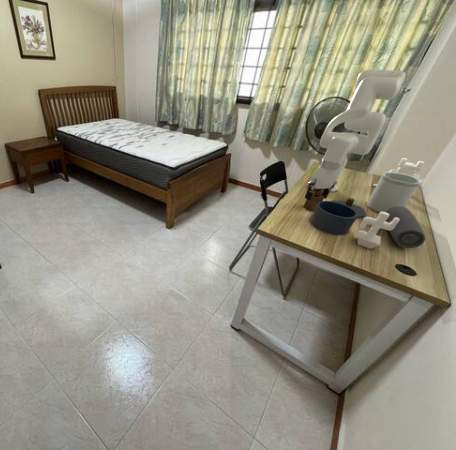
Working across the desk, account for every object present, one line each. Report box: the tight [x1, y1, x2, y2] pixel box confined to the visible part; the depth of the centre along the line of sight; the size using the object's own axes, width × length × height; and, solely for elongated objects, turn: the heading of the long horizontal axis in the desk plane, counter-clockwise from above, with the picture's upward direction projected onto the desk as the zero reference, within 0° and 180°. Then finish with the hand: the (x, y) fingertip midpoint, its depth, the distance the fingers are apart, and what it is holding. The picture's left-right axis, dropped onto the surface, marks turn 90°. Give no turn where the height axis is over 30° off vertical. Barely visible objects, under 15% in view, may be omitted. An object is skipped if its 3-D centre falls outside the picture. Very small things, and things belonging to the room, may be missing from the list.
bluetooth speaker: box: [385, 206, 426, 249], centre depth 102 cm, size 23×9×10 cm, turn 150°
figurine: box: [357, 212, 400, 250], centre depth 95 cm, size 7×9×15 cm
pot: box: [309, 200, 358, 236], centre depth 108 cm, size 15×15×8 cm
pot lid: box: [332, 197, 367, 218], centre depth 121 cm, size 16×16×6 cm
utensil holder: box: [366, 171, 423, 213], centre depth 120 cm, size 15×15×18 cm
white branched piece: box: [372, 157, 425, 187], centre depth 138 cm, size 19×14×20 cm
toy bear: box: [303, 189, 325, 212], centre depth 120 cm, size 5×5×12 cm
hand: (315, 198), depth 119 cm, fingers open, 9 cm apart
